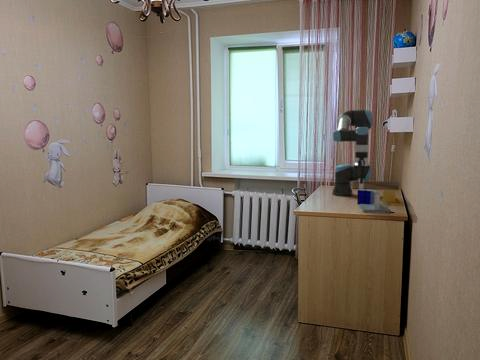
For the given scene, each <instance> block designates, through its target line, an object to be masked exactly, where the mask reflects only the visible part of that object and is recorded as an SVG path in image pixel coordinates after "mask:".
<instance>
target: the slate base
mask: <svg viewBox="0 0 480 360" xmlns="http://www.w3.org/2000/svg"><path fill="white" fill-rule="evenodd" d="M359 207H360V209H361V210H362V212H363V213H387V214H389V213H391V209H390V208H389V207H388V205H385V204H383V203H382V204H381V203H380V210H374V209H373V207H372V206H371V205H370V204H359Z"/></svg>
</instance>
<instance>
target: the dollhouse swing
mask: <svg viewBox="0 0 480 360" xmlns="http://www.w3.org/2000/svg"><path fill="white" fill-rule="evenodd" d="M382 196H383V197H382V199H381V200H382V201H381V202H382V204H384V205H386V206H400V204H401V205H403V204H402V203H403V202H402V199H400V198H398V197H396V190H382Z"/></svg>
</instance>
